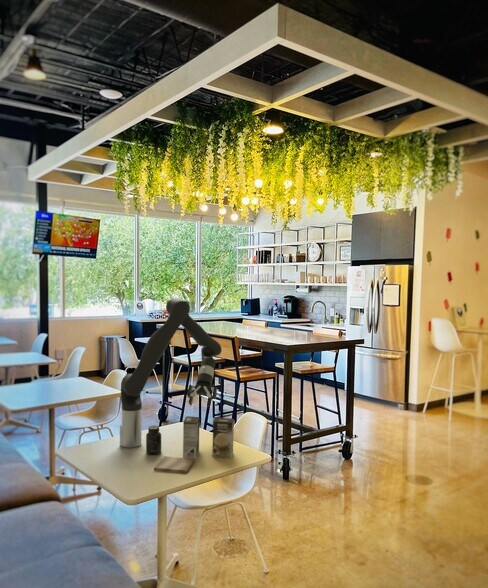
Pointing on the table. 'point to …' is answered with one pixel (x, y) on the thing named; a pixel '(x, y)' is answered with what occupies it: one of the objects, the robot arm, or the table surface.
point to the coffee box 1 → (191, 437)
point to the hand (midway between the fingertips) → (199, 405)
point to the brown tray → (174, 464)
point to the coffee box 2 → (223, 437)
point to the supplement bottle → (153, 441)
